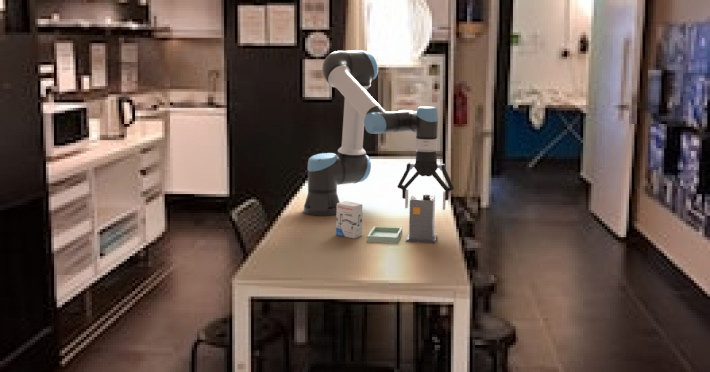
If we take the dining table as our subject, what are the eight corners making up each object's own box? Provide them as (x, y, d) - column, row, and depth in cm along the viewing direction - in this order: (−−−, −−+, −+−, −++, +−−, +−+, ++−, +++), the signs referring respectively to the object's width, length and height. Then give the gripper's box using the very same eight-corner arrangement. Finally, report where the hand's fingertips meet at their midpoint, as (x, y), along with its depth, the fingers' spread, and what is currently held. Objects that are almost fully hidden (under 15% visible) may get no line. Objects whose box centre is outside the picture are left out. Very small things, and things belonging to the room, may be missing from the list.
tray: (367, 241, 272) (367, 235, 271) (373, 231, 286) (373, 226, 285) (396, 243, 270) (397, 237, 270) (402, 233, 284) (402, 227, 283)
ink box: (335, 235, 281) (335, 202, 279) (344, 232, 285) (344, 200, 283) (354, 238, 276) (354, 206, 273) (362, 236, 279) (363, 203, 277)
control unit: (405, 241, 272) (406, 196, 269) (409, 234, 281) (409, 191, 278) (434, 243, 270) (435, 197, 267) (437, 236, 279) (438, 192, 276)
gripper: (390, 150, 279) (389, 208, 283) (461, 152, 275) (459, 211, 279) (393, 147, 286) (392, 204, 290) (462, 149, 282) (460, 207, 286)
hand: (425, 208), depth 285 cm, fingers open, 13 cm apart
